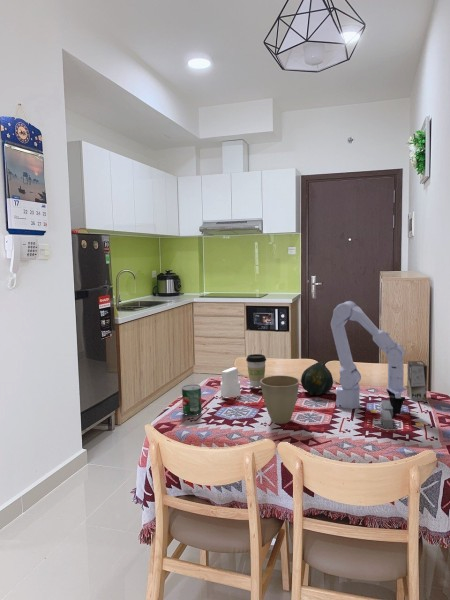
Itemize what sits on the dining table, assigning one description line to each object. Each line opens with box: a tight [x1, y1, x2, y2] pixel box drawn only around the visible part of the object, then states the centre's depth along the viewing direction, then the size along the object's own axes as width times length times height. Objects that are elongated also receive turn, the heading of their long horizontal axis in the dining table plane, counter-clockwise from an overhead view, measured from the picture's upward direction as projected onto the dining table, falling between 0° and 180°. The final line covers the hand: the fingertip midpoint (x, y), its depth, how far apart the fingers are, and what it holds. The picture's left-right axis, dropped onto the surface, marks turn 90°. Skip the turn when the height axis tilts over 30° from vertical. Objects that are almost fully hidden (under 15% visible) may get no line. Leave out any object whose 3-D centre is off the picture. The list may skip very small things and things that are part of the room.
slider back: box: [381, 399, 394, 418], centre depth 180 cm, size 3×10×3 cm, turn 167°
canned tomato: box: [181, 384, 203, 416], centre depth 190 cm, size 8×8×11 cm
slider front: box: [380, 409, 394, 429], centre depth 168 cm, size 3×10×3 cm, turn 167°
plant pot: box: [260, 374, 300, 425], centre depth 177 cm, size 15×15×16 cm
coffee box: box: [406, 360, 428, 402], centre depth 195 cm, size 9×6×16 cm
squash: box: [300, 361, 334, 396], centre depth 211 cm, size 14×15×15 cm
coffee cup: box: [245, 353, 267, 387], centre depth 224 cm, size 10×10×15 cm
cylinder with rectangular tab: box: [220, 366, 241, 398], centre depth 211 cm, size 9×9×12 cm
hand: (395, 410), depth 179 cm, fingers open, 7 cm apart
